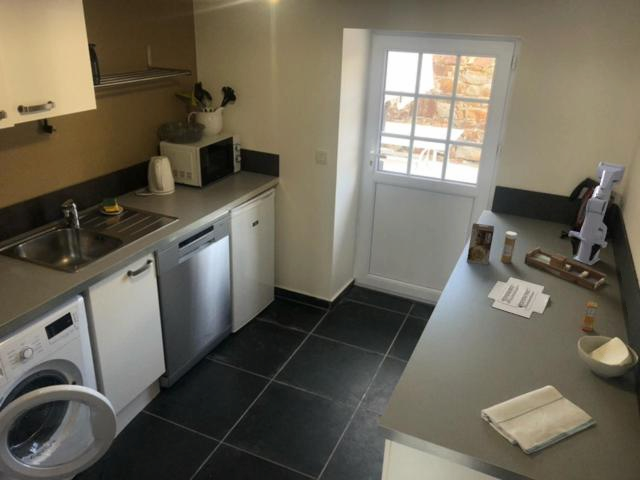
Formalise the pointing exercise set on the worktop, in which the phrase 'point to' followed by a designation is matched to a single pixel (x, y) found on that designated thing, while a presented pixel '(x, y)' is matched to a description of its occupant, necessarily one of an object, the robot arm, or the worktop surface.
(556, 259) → the walnut block
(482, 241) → the coffee box
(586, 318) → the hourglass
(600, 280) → the brown wooden open box
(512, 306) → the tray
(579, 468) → the worktop surface
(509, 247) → the sprinkles bottle
